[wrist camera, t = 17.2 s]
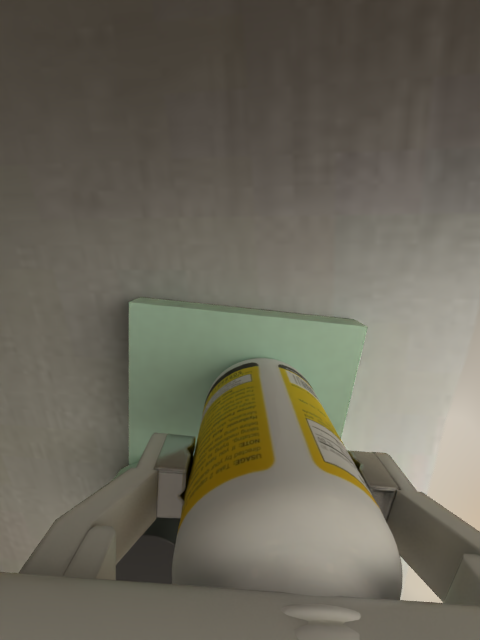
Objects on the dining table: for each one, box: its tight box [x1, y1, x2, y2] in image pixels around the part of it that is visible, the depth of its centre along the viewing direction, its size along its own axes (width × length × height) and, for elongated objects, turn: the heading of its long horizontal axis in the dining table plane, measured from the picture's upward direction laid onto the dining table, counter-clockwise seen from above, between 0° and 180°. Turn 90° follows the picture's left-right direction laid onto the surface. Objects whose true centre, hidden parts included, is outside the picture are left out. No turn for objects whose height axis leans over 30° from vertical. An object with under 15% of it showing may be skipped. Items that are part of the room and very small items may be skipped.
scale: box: [112, 297, 368, 481], centre depth 13 cm, size 12×15×3 cm
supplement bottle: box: [172, 358, 402, 640], centre depth 8 cm, size 5×5×10 cm
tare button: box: [116, 517, 181, 584], centre depth 12 cm, size 4×4×2 cm
